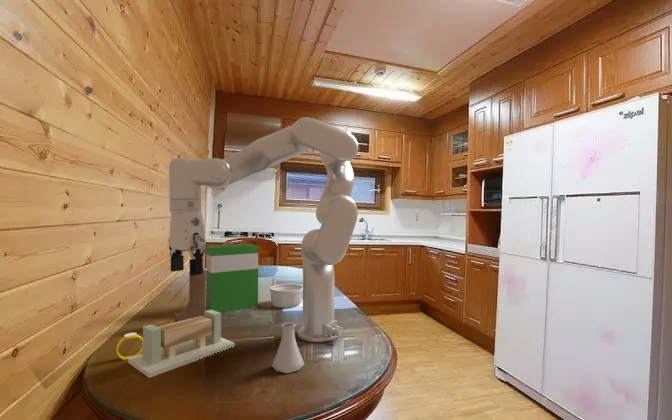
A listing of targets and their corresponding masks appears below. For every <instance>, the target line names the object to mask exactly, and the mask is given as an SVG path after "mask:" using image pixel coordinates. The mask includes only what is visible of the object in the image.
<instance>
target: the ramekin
mask: <svg viewBox="0 0 672 420" xmlns="http://www.w3.org/2000/svg"><path fill="white" fill-rule="evenodd" d="M269 291H270V299H271V304H272V306H274V307H276V308H279V309H280V308H281V309H289V308H290V309H291V308H295V307H298V306H300V304H302V303H301V302H302V300H303V285H301V284H296V283H281V284H280V283H279V284H275V285H271V286H270V287H269Z"/></svg>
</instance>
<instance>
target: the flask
mask: <svg viewBox="0 0 672 420" xmlns="http://www.w3.org/2000/svg"><path fill="white" fill-rule="evenodd" d="M280 327H281V328H282V333H281V340H280V343H279V345H278V346H279V347H278V349H277V352H276V355H275V357H274V360H273V362H272V364H271V368H273V369H274V370H275V371H276V372H280V373H284V374H290V373H293V372H296V371H297V372H298V371H300V370H301V369H302V368H303V367H304V366H305V362H304V359H303V357H302V354H301V353H300V349H299V347H298V344H297V341H296V337H295V327H296V324H295V322H284V323H282V324H281V325H280Z"/></svg>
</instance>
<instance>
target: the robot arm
mask: <svg viewBox="0 0 672 420" xmlns="http://www.w3.org/2000/svg"><path fill="white" fill-rule="evenodd" d="M309 150H314V151H316V152H318V154H319V157H320V160H321V162H322V164H323V165H324V167H325V170H326V174H327V175H326V181H325V184H324V186H323V187H324V188H323V191H322V193H321V196H320V197H319V198H320V199H319V201H318V204H317V206H316V209H315V216H316V219H317V222H318V223H320V224H321V225H320V228H318V229H317V228H315V229H313V230H309V231H308V232H306V234H304V236H303V238H302V240H301V244H300V252H301V253H300V255H301V263H302V286H303V291H302V326H301V327H300V328H298V329H297V333H296V334H297V337H298V338H299V339H301V340H303V341H306V342H313V343H324V342H329V341H333V340H335V339H337V338H339V337H342V335H343V332H344V331H345V330H344V327H343V326H338V320H337V319H335V278H336V277H335V267H334V265H336V264H337V263H339V262H341V261H342V259H343V258H344V257H345V255H346V253H347V250H348V248H349V245H350V242H351V239H352V237H353V236H352V235H353V233H354V230H355V227H356V225H357V220H358V215H359V213H358V212H359V210H358V206H357V204H356V201H355V200H354V199H353V198H352V197H351V196H352V192H353V189H354V186H355V185H354V184H355V173H354V170H353V167H352V165H351V161H352V160H354V158H356V156H357V155H358V153H359V142H358V141H357V138H356V137H355V136H354V135H353V134H352V133H350V132H349V131H347V130H344V129H341V128H339V127H337V126H334V125H332V124H329V123H327V122H324V121H322V120H319V119H316V118H313V117H309V116H308V117H306V116H304V117H300V118H299V119H297V120H296V121H295V122H294V123H293V124H292V125H289V126H287V127H284V128H282V129H280V130H278V131H275V132H273V133H270V134H268V135H265V136H262V137H259V138H257V139H256V140H254V141H252V142H251V143H250V144H248V145H247V146H246V147H244V148H242V150H239V151H238V152H236V153H234V154H232V155H230V156H229V155H228V156H227V157H225V158H213V157H212V158H204V159H193V158H186V157H185V158H181V157H178V158H177V157H176V158H173V159H171V160H170V162H169V164H168V181H169V182H168V185H169V187H168V188H169V189H168V192H169V195H168V197H169V198H168V199H169V201H168V202H169V213H170V223H169V238H168V240H167V241H168V242H167V243H168V246H169V247H168V249H169V256H170V271H171V272H173V273H174V272H181V271H184V269H185V268H184V267H185V266H184V255H183V253H184V252H188V253H189V257H190V259H189V270H190V275H191V276H193V275H199V274H202V273H203V266H204V264H203V263H204V262H203V259H204V258H205V256H204V254H206V253H205V252H206V246H207V241H206V236H205V224H204V217H203V213H202V212H203V211H202V186H206V187H207V188H209V189H212V190H219V189H222V188H225V187H227V186H230V185H232V184H234V183H237V182H239V181H241V180H244V179H245V178H248V177H249V176H252V175H254V174H257V173H261V172H263V171H266V170H269V169H270V168H272V167H274V166H277V165H279V164H281V163H283V162H286V161H288V160H290V159H292V158H294V157H297V156H299V155H302V154H303V153H306V152H308V151H309Z"/></svg>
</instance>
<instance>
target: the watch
mask: <svg viewBox="0 0 672 420" xmlns="http://www.w3.org/2000/svg"><path fill="white" fill-rule="evenodd" d="M135 338H137V339H139V340H141V347H140V349H139V351H138V352H137V353H136V354H132V355H126V356H124V355H122V354H120V352H119V350H120V346H121V345H122V343H123V342H124V341H127V340H131V339H135ZM115 351H116V355H117V357H118V358H119V359H121V360H123V361H126V360H128V358H131V357H134V356H138V355H141V354H143V336H141V335H139V334H138V333H137V332H128V333H126V334H124V335H123V337H122V338H121V339H119V341H118V343H116V349H115Z"/></svg>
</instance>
